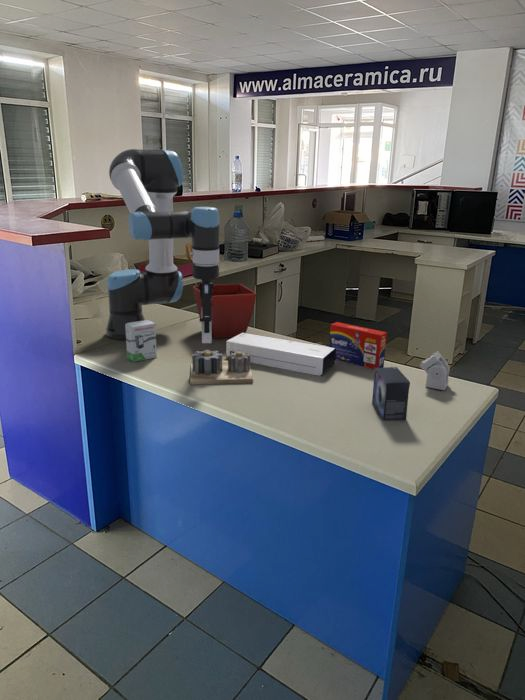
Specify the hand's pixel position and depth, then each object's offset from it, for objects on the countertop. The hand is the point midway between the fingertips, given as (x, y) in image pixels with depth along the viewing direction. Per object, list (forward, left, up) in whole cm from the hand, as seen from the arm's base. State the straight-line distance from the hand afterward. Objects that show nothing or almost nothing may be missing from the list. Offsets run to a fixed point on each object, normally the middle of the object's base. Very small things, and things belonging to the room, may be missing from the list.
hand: (206, 335), depth 156 cm
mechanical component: (+14, +65, -12) cm, 68 cm away
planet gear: (0, 0, -11) cm, 11 cm away
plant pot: (-42, +7, -12) cm, 44 cm away
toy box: (-7, +48, -12) cm, 50 cm away
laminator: (-9, +23, -13) cm, 28 cm away
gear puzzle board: (0, +4, -12) cm, 13 cm away
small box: (+30, +46, -12) cm, 57 cm away
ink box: (-16, -21, -12) cm, 29 cm away
